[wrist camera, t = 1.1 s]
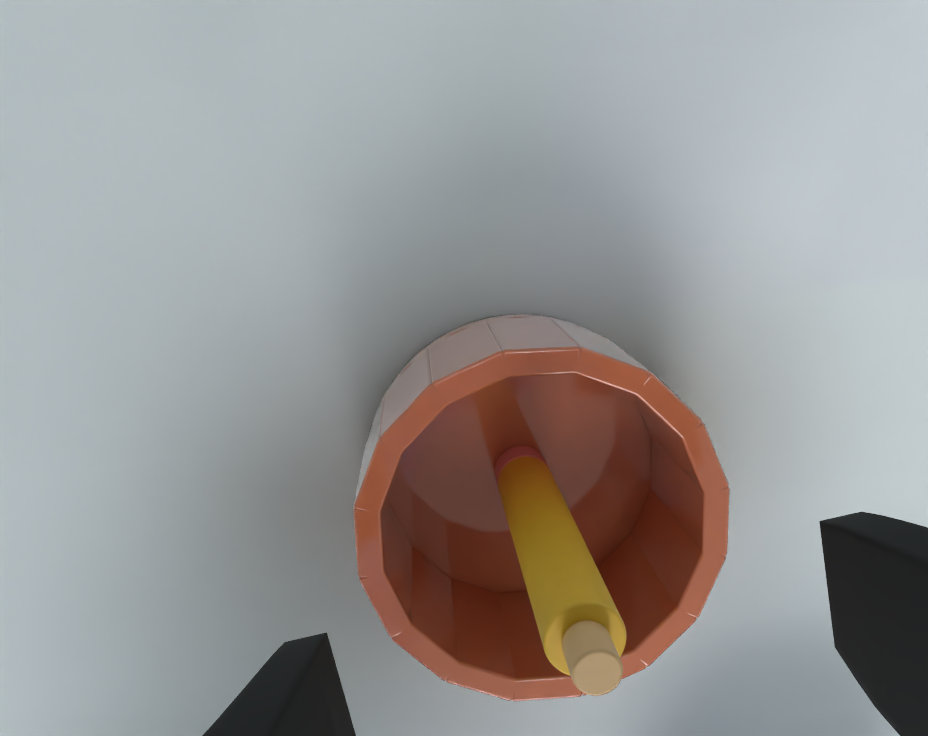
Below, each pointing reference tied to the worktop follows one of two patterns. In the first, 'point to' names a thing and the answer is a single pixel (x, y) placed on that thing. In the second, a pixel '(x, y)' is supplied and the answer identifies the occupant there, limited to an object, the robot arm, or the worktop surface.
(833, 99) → the worktop surface
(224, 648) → the worktop surface
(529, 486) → the pencil
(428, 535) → the pot
